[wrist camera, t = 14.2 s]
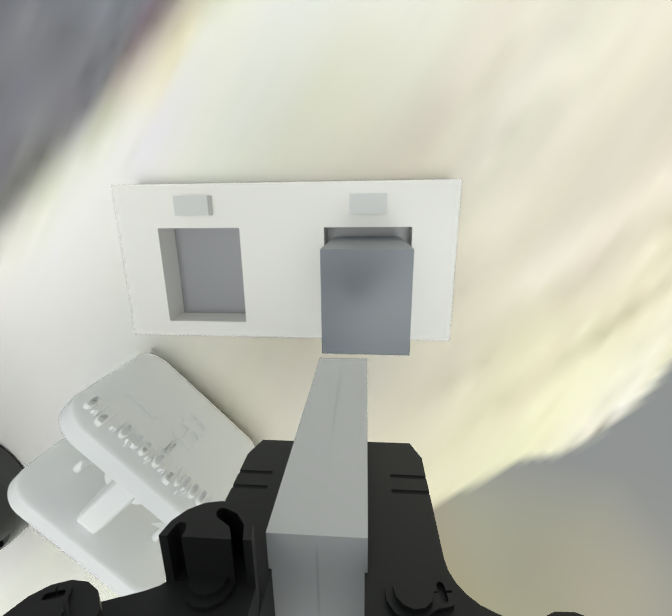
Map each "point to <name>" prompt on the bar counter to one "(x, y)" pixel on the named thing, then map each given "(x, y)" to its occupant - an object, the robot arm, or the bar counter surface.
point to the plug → (366, 295)
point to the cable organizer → (129, 471)
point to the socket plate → (275, 251)
